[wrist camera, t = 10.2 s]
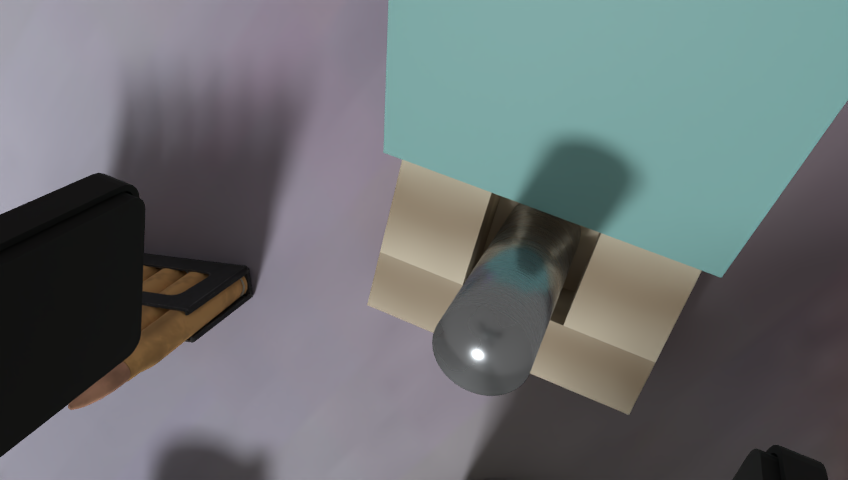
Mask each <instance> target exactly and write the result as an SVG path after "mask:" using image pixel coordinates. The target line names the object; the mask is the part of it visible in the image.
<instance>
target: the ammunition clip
mask: <svg viewBox="0 0 848 480" xmlns="http://www.w3.org/2000/svg"><path fill="white" fill-rule="evenodd" d="M252 297H253V295H252V289H251V282H250V276H249V269H248V268H247V267H246V266H241V265H233V264H225V263H217V262H209V261H201V260H193V259H185V258H177V257H169V256H161V255H152V254H144V260H143V291H142V322H141V338H140V341H139V344H138V345H137V347H136V349H135V350H134V352H133V353H132V354H131V355H130V356H129V357H128V358H127V359H125V360H124V361H123V362H122V363H120V364H119V365H118V366H116V367H115V368H114V369H113V370H111V371H110V372H109V373H107V374H106V375H105V376H104V377H102V378H101V379H100V380H99V381H97V382H96V383H95V384H93V385H92V386H91V387H90V388H88V389H87V390H86V391H84V392H83V393H82V394H81V395H79V396H78V397H77V398H75V399H74V400H73V401H72V402H70V403H69V405H68V408H69V409H70V410H74V409H78V408H82V407H85V406H87V405H90V404H92V403H94V402H96V401H98V400H100V399H102V398H104V397H105V396H107V395H108V394H110V393H112V392H113V391H115V390H116V389H117V388H119V387H120V386H121V385H123V384H124V383H125V382H127V381H129V380H130V379H132V378H133V377H135V376H136V375H137V374H139V373H140V372H142V371H144V370H146V369H148V368H150V367H152V366H154V365H155V364H157V363H158V362H159V361H160V360H162V359H163V358H164V357H166V356H167V355H168V354H169V353H171V352H172V351H173V350H174V349H176V348H177V347H178V346H179V345H181V344H182V343H183V342H184V341H186V342H195V341H196V340H197V339H199V338H200V337H201V336H202V335H204V334H205V333H206V332H208V331H209V330H210V329H212V328H213V327H214V326H215V325H217V324H218V323H219V322H221V321H222V320H223V319H224V318H226V317H227V316H228V315H230V314H231V313H232V312H233V311H235V310H236V309H237V308H239V307H240V306H241V305H242V304H244V303H245V302H246V301H248V300H249V299H250V298H252Z"/></svg>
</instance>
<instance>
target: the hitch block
mask: <svg viewBox="0 0 848 480" xmlns="http://www.w3.org/2000/svg"><path fill="white" fill-rule="evenodd" d="M518 204H519V203H518V202H516V201H513V200H510V199H508V198H505V197H502V196H499V195H497V194H494V193H491V192H489V191H486V190H483V189H481V188H478V187H475V186H472V185H470V184H467V183H464V182H462V181H459V180H456V179H454V178H451V177H448V176H446V175H443V174H440V173H437V172H435V171H432V170H429V169H427V168H424V167H421V166H419V165H416V164H413V163H410V162H408V161H405V160H402V163H401V168H400V172H399V176H398V180H397V184H396V188H395V192H394V197H393V201H392V205H391V209H390V213H389V217H388V221H387V226H386V230H385V234H384V238H383V242H382V246H381V250H380V255H379V259H378V263H377V267H376V271H375V275H374V279H373V283H372V288H371V292H370V296H369V300H368V304H367V305H368V306H371V307H373V308H376V309H378V310H380V311H383V312H385V313H387V314H390V315H392V316H395V317H397V318H399V319H402V320H404V321H406V322H409V323H411V324H414V325H416V326H418V327H421V328H423V329H426V330H428V331H430V332H433V333H434V330H435V328H436V326H437V324H438V322H439V321H440V319H441V318H442V316H443V315H444V313H445V312H446V310H447V309H448V307H449V306H450V304H451V303H452V301H453V300H454V298H455V297H456V295H457V294H458V292H459V290H460V289H461V287H462V286H463V284H464V283H465V281H466V280H467V278H468V277H469V275H470V274H471V272H472V271H473V269H474V268H475V266H476V265H477V263H478V262H479V260H480V259H481V257H482V256H483V254H484V253H485V251H486V249H487V248H488V246H489V245H490V243H491V242H492V240H493V239H494V237H495V236H496V234H497V233H498V231H499V230H500V228H501V227H502V225H503V224H504V222H505V221H506V219H507V218H508V216H509V215H510V213H511V211H512V210H513V209H514V208H515V206H517V205H518ZM580 230H581V236H580V242H579V245H578V247H577V250H576V253H575V255H574V258H573V261H572V263H571V266H570V269H569V271H568V274H567V276H566V279H565V282H564V284H563V287H562V290H561V292H560V295H559V298H558V300H557V303H556V305H555V308H554V311H553V313H552V316H551V319H550V321H549V324H548V327H547V329H546V332H545V335H544V337H543V340H542V342H541V345H540V348H539V350H538V353H537V356H536V358H535V361H534V364H533V366H532V369H531V372H530V374H533V375H535V376H537V377H540V378H542V379H544V380H547V381H549V382H552V383H554V384H556V385H559V386H561V387H563V388H566V389H568V390H571V391H573V392H575V393H578V394H580V395H583V396H585V397H587V398H590V399H592V400H594V401H597V402H599V403H602V404H604V405H606V406H609V407H611V408H613V409H616V410H618V411H621V412H623V413H625V414H628V415H629V414H630V412H631V410H632V408H633V406H634V404H635V402H636V400H637V398H638V396H639V394H640V392H641V390H642V388H643V386H644V384H645V382H646V380H647V378H648V376H649V374H650V373H651V371H652V369H653V367H654V365H655V363H656V361H657V359H658V357H659V355H660V353H661V351H662V349H663V347H664V345H665V343H666V341H667V339H668V337H669V335H670V333H671V331H672V329H673V327H674V325H675V323H676V321H677V319H678V317H679V315H680V313H681V311H682V309H683V307H684V305H685V303H686V301H687V299H688V297H689V295H690V293H691V291H692V289H693V287H694V285H695V283H696V281H697V279H698V277H699V275H700V273H701V271H702V270H699V269H696V268H694V267H691V266H688V265H685V264H683V263H680V262H677V261H675V260H672V259H669V258H667V257H664V256H661V255H659V254H656V253H653V252H650V251H648V250H645V249H642V248H640V247H637V246H634V245H632V244H629V243H626V242H623V241H621V240H618V239H615V238H613V237H610V236H607V235H605V234H602V233H599V232H597V231H594V230H591V229H588V228H586V227H583V226H580Z"/></svg>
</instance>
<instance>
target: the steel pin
mask: <svg viewBox="0 0 848 480" xmlns="http://www.w3.org/2000/svg"><path fill="white" fill-rule="evenodd" d="M580 236H581V230H580V225H578V224H575V223H572V222H570V221H567V220H564V219H561V218H559V217H556V216H553V215H551V214H548V213H545V212H543V211H540V210H537V209H535V208H532V207H529V206H526V205H524V204H521V203H519V204H518V205H517V206H515V208H514V209H513V210H512V211H511V213H510V215H509V216H508V218H507V219H506V221H505V222H504V224H503V225H502V227H501V228H500V230H499V231H498V233H497V234H496V236H495V237H494V239H493V240H492V242H491V243H490V245H489V246H488V248H487V249H486V251H485V253H484V254H483V256H482V257H481V259H480V260H479V262H478V263H477V265H476V266H475V268H474V269H473V271H472V272H471V274H470V275H469V277H468V278H467V280H466V281H465V283H464V284H463V286H462V287H461V289H460V290H459V292H458V294H457V295H456V297H455V298H454V300H453V301H452V303H451V304H450V306H449V307H448V309H447V310H446V312H445V313H444V315H443V316H442V318H441V319H440V321H439V322H438V324H437V326H436V328H435V330H434V334H433V341H432V344H433V352H434V355H435V358H436V361H437V363H438V365H439V366H440V368H441V369H442V371H443V372H444V373H445V375H446V376H447V377H448V378H449V379H450V380H452V381H453V382H454V383H455V384H457V385H458V386H460V387H461V388H463V389H465V390H467V391H470V392H473V393H476V394H480V395H486V396H496V395H502V394H506V393H509V392H512V391H513V390H515V389H517V388H518V387H520V386H521V385H522V384H523V383H524V382H525V380H526V379H527V378H528V376H529V374H530V372H531V369H532V366H533V364H534V361H535V358H536V356H537V353H538V350H539V348H540V345H541V342H542V340H543V337H544V335H545V332H546V329H547V327H548V324H549V321H550V319H551V316H552V313H553V311H554V308H555V305H556V303H557V300H558V298H559V295H560V292H561V290H562V287H563V284H564V282H565V279H566V276H567V274H568V271H569V269H570V266H571V263H572V261H573V258H574V255H575V253H576V250H577V247H578V245H579V242H580Z"/></svg>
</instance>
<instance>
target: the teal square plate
mask: <svg viewBox="0 0 848 480" xmlns="http://www.w3.org/2000/svg"><path fill="white" fill-rule="evenodd" d="M847 100H848V0H389V4H388V34H387V64H386V94H385V124H384V153H386V154H389V155H392V156H394V157H397V158H400V159H402V160H405V161H408V162H410V163H413V164H416V165H419V166H421V167H424V168H427V169H429V170H432V171H435V172H437V173H440V174H443V175H446V176H448V177H451V178H454V179H456V180H459V181H462V182H464V183H467V184H470V185H472V186H475V187H478V188H481V189H483V190H486V191H489V192H491V193H494V194H497V195H499V196H502V197H505V198H508V199H510V200H513V201H516V202H518V203H521V204H524V205H526V206H529V207H532V208H535V209H537V210H540V211H543V212H545V213H548V214H551V215H553V216H556V217H559V218H561V219H564V220H567V221H570V222H572V223H575V224H578V225H580V226H583V227H586V228H588V229H591V230H594V231H597V232H599V233H602V234H605V235H607V236H610V237H613V238H615V239H618V240H621V241H623V242H626V243H629V244H632V245H634V246H637V247H640V248H642V249H645V250H648V251H650V252H653V253H656V254H659V255H661V256H664V257H667V258H669V259H672V260H675V261H677V262H680V263H683V264H685V265H688V266H691V267H694V268H696V269H699V270H702V271H704V272H707V273H710V274H712V275H715V276H718V277H721V278H722V276H723V275H724V273H725V272H726V271H727V269H728V268H729V266H730V265H731V264H732V262H733V261H734V259H735V258H736V257H737V255H738V254H739V252H740V251H741V249H742V248H743V247H744V245H745V244H746V242H747V241H748V240H749V238H750V237H751V235H752V234H753V233H754V231H755V230H756V228H757V227H758V226H759V224H760V223H761V221H762V220H763V219H764V217H765V216H766V214H767V213H768V211H769V210H770V209H771V207H772V206H773V204H774V203H775V202H776V200H777V199H778V197H779V196H780V195H781V193H782V192H783V190H784V189H785V188H786V186H787V185H788V183H789V182H790V180H791V179H792V178H793V176H794V175H795V173H796V172H797V171H798V169H799V168H800V166H801V165H802V164H803V162H804V161H805V159H806V158H807V157H808V155H809V154H810V152H811V151H812V149H813V148H814V147H815V145H816V144H817V142H818V141H819V140H820V138H821V137H822V135H823V134H824V133H825V131H826V130H827V128H828V127H829V126H830V124H831V123H832V121H833V120H834V118H835V117H836V116H837V114H838V113H839V111H840V110H841V109H842V107H843V106H844V104H845V103H846V102H847Z"/></svg>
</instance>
